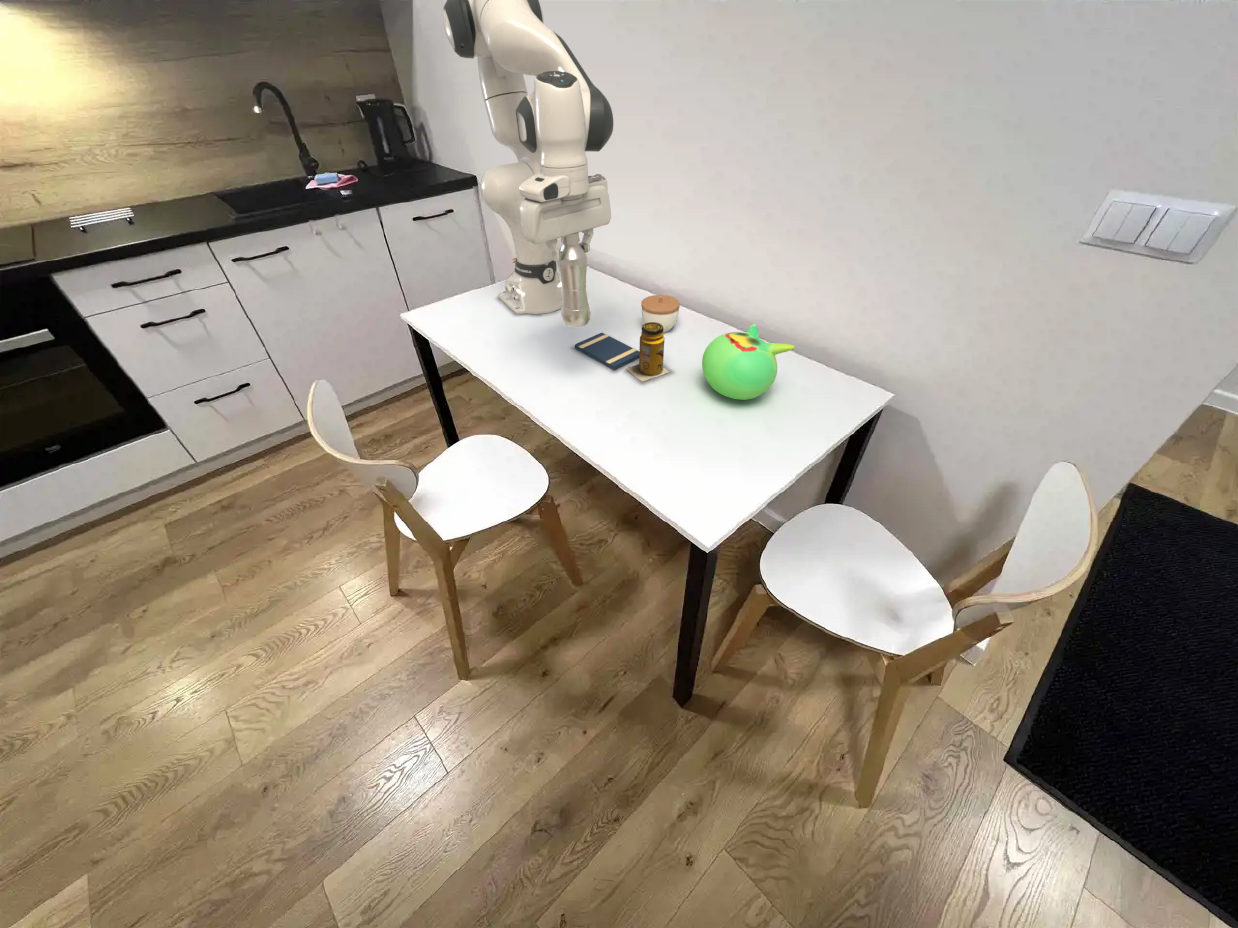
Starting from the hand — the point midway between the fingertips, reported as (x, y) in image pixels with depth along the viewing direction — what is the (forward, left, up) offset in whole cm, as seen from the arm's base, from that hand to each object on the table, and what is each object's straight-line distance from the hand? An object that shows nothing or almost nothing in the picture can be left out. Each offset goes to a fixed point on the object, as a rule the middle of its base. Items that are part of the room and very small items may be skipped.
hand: (571, 256), depth 103 cm
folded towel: (-5, +14, -30) cm, 33 cm away
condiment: (+9, +15, -30) cm, 35 cm away
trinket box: (-5, +34, -30) cm, 45 cm away
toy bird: (+30, +24, -30) cm, 49 cm away
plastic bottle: (0, 0, -15) cm, 15 cm away
